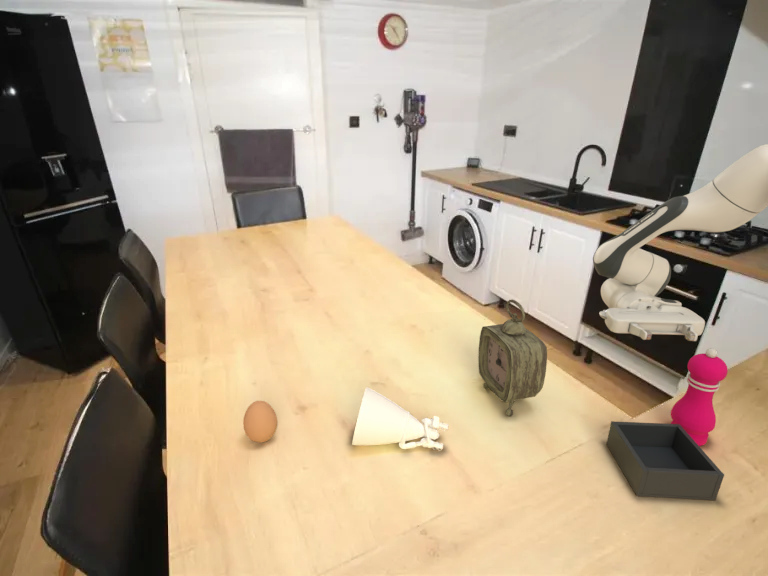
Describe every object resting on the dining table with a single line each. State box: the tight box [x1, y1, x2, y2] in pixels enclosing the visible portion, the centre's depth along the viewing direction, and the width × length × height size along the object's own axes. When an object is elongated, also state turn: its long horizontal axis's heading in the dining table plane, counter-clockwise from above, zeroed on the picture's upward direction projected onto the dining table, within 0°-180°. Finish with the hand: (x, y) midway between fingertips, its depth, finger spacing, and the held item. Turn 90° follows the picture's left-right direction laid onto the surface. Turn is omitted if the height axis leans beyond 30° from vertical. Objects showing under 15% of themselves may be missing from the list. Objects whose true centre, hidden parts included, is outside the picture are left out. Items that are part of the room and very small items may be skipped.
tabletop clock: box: [477, 299, 548, 417], centre depth 92 cm, size 14×9×25 cm, turn 14°
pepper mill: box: [670, 347, 729, 447], centre depth 80 cm, size 7×7×20 cm
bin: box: [606, 420, 725, 501], centre depth 74 cm, size 13×13×6 cm
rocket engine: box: [351, 386, 449, 451], centre depth 82 cm, size 12×12×18 cm
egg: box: [242, 400, 278, 443], centre depth 84 cm, size 7×7×9 cm
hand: (670, 337), depth 89 cm, fingers open, 8 cm apart
